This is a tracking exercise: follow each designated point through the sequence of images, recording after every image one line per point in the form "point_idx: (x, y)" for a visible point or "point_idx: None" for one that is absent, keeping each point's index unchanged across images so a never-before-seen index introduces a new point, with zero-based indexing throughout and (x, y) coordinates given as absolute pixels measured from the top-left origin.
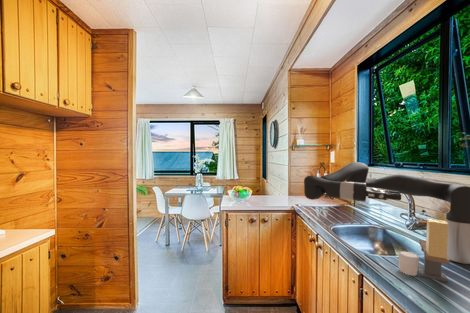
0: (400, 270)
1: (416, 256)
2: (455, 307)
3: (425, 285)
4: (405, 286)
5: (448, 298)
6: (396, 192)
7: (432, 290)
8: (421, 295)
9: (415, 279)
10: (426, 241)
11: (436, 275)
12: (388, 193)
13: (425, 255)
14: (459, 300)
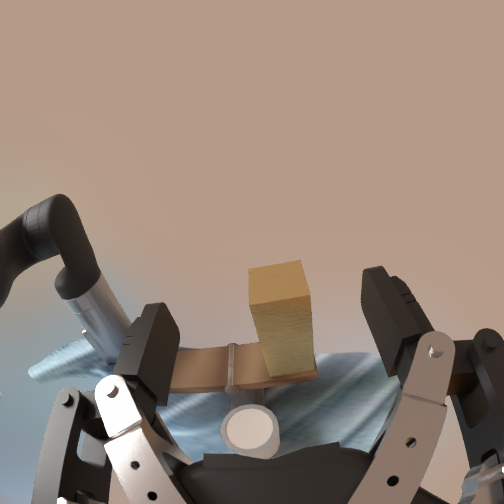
0: (268, 458)
1: (254, 411)
2: (381, 361)
3: (320, 408)
4: (363, 437)
5: (352, 372)
6: (159, 325)
7: (337, 396)
8: (382, 406)
9: (299, 427)
10: (269, 360)
11: (255, 390)
12: (436, 336)
13: (285, 383)
14: (345, 359)
